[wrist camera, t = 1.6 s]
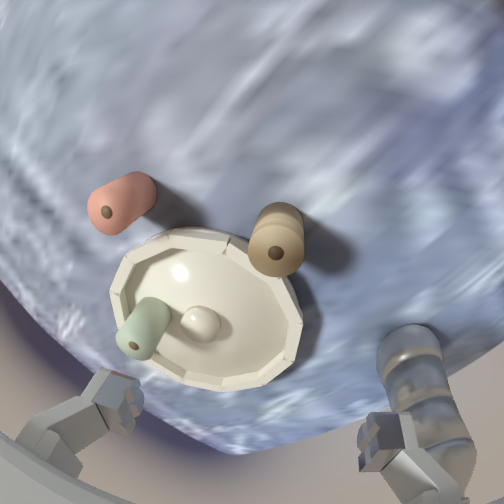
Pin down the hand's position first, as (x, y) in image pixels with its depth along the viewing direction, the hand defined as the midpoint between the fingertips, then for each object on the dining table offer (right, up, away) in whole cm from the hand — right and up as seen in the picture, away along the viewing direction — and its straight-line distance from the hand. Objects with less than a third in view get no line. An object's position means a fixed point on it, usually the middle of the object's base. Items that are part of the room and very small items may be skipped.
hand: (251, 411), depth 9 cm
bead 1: (-10, +10, +15) cm, 20 cm away
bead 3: (+2, +8, +14) cm, 16 cm away
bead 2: (-9, 0, +19) cm, 21 cm away
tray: (-4, -1, +19) cm, 20 cm away
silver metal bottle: (+15, -3, +18) cm, 24 cm away
